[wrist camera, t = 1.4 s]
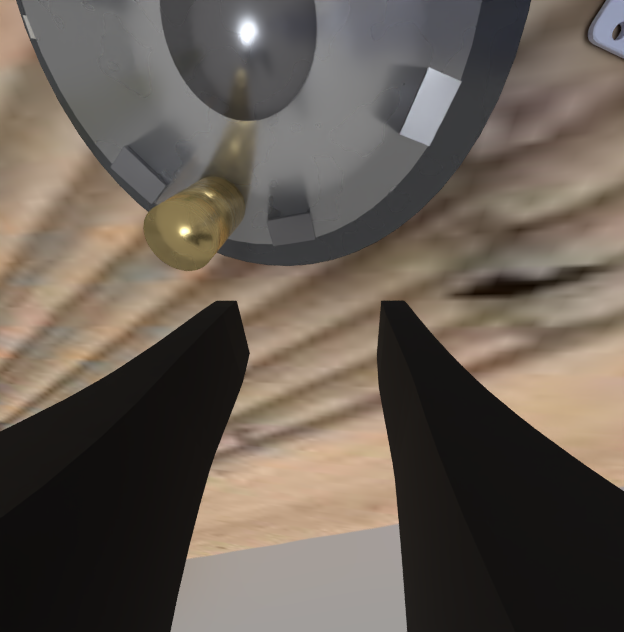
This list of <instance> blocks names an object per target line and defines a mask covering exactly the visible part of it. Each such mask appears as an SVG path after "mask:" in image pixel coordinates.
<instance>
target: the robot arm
mask: <svg viewBox="0 0 624 632" xmlns="http://www.w3.org/2000/svg"><path fill="white" fill-rule="evenodd" d="M618 24H620V25H621V32H620V34H619V36H618V37H617V38H616V39H615V40H614V39H613V38H612V32H613V30H614V28H615V27H616V26H617V25H618ZM588 39H589V41H590V42H591V43H592V44H594V45H596V46H598V47H600V48H602V49H604V50H607V51H609V52H611V53H613V54H615V55H617V56H619V57H621V58H623V59H624V0H606V1H605V3H604V4H603V6H602V8H601V9H600V11H599V12H598V14H597V15H596V17H595V18H594V20H593V21H592V23H591V25H590V27H589V31H588ZM249 354H250V352H249V348H248V344H247V340H246V336H245V332H244V328H243V324H242V320H241V316H240V312H239V308H238V304H237V301H216V302H214V303H212V304H211V305H209V306H208V307H206V308H205V309H203V310H202V311H201V312H199V313H198V314H196V315H195V316H194V317H192V318H191V319H189V320H188V321H187V322H185V323H184V324H183V325H181V326H180V327H178V328H177V329H176V330H174V331H173V332H171V333H170V334H169V335H167V336H166V337H165V338H163V339H162V340H160V341H159V342H158V343H156V344H155V345H153V346H152V347H150V348H149V349H147V350H146V351H144V352H143V353H141V354H140V355H138V356H137V357H135V358H134V359H132V360H131V361H129V362H128V363H126V364H125V365H123V366H122V367H120V368H118V369H117V370H115V371H114V372H112V373H110V374H109V375H107V376H105V377H104V378H102V379H100V380H99V381H97V382H95V383H93V384H92V385H90V386H88V387H86V388H84V389H83V390H81V391H79V392H77V393H76V394H74V395H72V396H70V397H68V398H66V399H65V400H63V401H61V402H59V403H57V404H55V405H53V406H51V407H49V408H47V409H45V410H43V411H41V412H39V413H37V414H35V415H33V416H31V417H29V418H27V419H25V420H23V421H21V422H19V423H17V424H15V425H13V426H11V427H9V428H7V429H5V430H2V431H0V632H170V631H171V626H172V621H173V616H174V611H175V606H176V602H177V596H178V592H179V588H180V584H181V580H182V575H183V571H184V567H185V562H186V558H187V554H188V549H189V545H190V541H191V537H192V534H193V530H194V526H195V522H196V518H197V514H198V510H199V506H200V503H201V499H202V496H203V492H204V489H205V485H206V481H207V478H208V474H209V471H210V468H211V465H212V462H213V459H214V456H215V453H216V450H217V448H218V445H219V443H220V440H221V438H222V435H223V432H224V430H225V427H226V425H227V422H228V420H229V417H230V414H231V412H232V409H233V407H234V404H235V402H236V399H237V396H238V394H239V391H240V388H241V386H242V383H243V379H244V375H245V371H246V367H247V363H248V358H249ZM377 367H378V382H379V391H380V396H381V402H382V408H383V413H384V419H385V424H386V429H387V435H388V440H389V446H390V451H391V457H392V462H393V469H394V476H395V485H396V496H397V507H398V518H399V529H400V541H401V554H402V566H403V580H404V593H405V606H406V620H407V632H624V491H623V490H621V489H620V488H618V487H617V486H615V485H614V484H612V483H611V482H609V481H608V480H606V479H605V478H603V477H602V476H600V475H599V474H597V473H596V472H595V471H593V470H592V469H590V468H589V467H587V466H586V465H584V464H583V463H581V462H580V461H579V460H577V459H576V458H574V457H573V456H572V455H570V454H569V453H568V452H566V451H565V450H563V449H562V448H561V447H559V446H558V445H557V444H555V443H554V442H553V441H551V440H550V439H548V438H547V437H546V436H544V435H543V434H542V433H540V432H539V431H538V430H536V429H535V428H534V427H532V426H531V425H530V424H528V423H527V422H526V421H525V420H523V419H522V418H521V417H519V416H518V415H517V414H516V413H515V412H513V411H512V410H511V409H510V408H509V407H507V406H506V405H505V404H504V403H503V402H501V401H500V400H499V399H498V398H497V397H495V396H494V395H493V394H492V393H491V392H489V391H488V390H487V389H486V388H485V387H484V386H483V385H482V384H480V383H479V382H478V381H477V380H476V379H475V378H474V377H473V376H472V375H471V374H470V373H469V372H468V371H467V370H466V369H465V368H464V367H463V366H462V365H461V364H460V363H459V362H458V361H457V360H456V359H455V358H454V357H453V356H452V355H451V354H450V353H449V352H448V351H447V350H446V349H445V348H444V346H443V345H442V344H441V343H440V342H439V341H438V340H437V339H436V338H435V337H434V336H433V334H432V333H431V332H430V331H429V330H428V329H427V327H426V326H425V325H424V324H423V323H422V321H421V320H420V319H419V318H418V317H417V315H416V314H415V313H414V312H413V310H412V309H411V308H410V307H409V305H408V304H407V303H406V302H405V301H381V311H380V323H379V335H378V347H377Z"/></svg>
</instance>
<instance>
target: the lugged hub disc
mask: <svg viewBox="0 0 624 632" xmlns="http://www.w3.org/2000/svg"><path fill="white" fill-rule="evenodd" d="M22 3H23V6H24V9H25V12H26V15H27V18H28V21H29V23H30V26H31V28H32V31H33V33H34V36H35V38H36V41H37V43H38V46H39V48H40V50H41V53H42V55H43V57H44V59H45V61H46V63H47V65H48V67H49V69H50V71H51V73H52V75H53V77H54V79H55V81H56V83H57V85H58V87H59V89H60V91H61V93H62V94H63V96H64V98H65V99H66V101H67V103H68V104H69V106H70V108H71V109H72V111H73V113H74V114H75V116H76V118H77V119H78V121H79V122H80V123H81V125H82V126H83V127H84V129H85V130H86V132H87V133H88V134H89V136H90V137H91V139H92V140H93V141H94V143H95V144H96V145H97V147H98V148H99V149H100V150H101V151H102V152H103V154H104V155H105V156H106V157H107V158H108V160H109V161H110V162H111V163H112V165H111V168H112V169H113V170H114V171H115V172H116V173H117V174H118V175H119V176H121V177H122V178H123V179H124V180H125V181H126V182H127V183H128V184H129V185H131V186H132V187H133V188H134V189H135V190H136V191H137V192H138V193H139V194H141V195H142V196H143V197H144V198H145V199H146V200H147V201H148V202H149V203H151V204H153V203H156V204H157V206H155V207H154V208H152V209H151V210H150V211H149V212H148V214H147V215H146V217H145V220H144V235H145V238H146V241H147V243H148V245H149V247H150V248H151V250H152V251H153V252H154V254H155V255H156V256H157V257H158V258H159V259H160V260H162V261H163V262H164V263H166V264H168V265H169V266H171V267H173V268H176V269H179V270H184V271H193V270H198V269H200V268H202V267H204V266H205V265H206V264H207V263H208V262H209V261H210V260H211V259H212V257H213V256H214V255H215V254H216V253H217V251H218V250H219V249H220V248H221V246H222V245H223V244H224V243H225V242H226V240H227V239H231V240H234V241H240V242H247V243H253V244H273V246H278V245H285V244H291V243H297V242H303V241H309V240H315V238H316V237H319V236H322V235H324V234H327V233H330V232H332V231H335V230H337V229H339V228H341V227H343V226H345V225H347V224H348V223H350V222H352V221H354V220H356V219H357V218H359V217H360V216H362V215H363V214H364V213H366V212H367V211H369V210H370V209H372V208H373V207H375V206H376V205H377V204H378V203H379V202H380V201H381V200H382V199H384V198H385V197H386V196H387V195H388V194H389V193H390V192H391V191H392V190H394V188H395V187H396V186H397V185H398V184H399V183H400V182H401V181H402V179H403V178H404V177H405V176H406V175H407V174H408V173H409V172H410V171H411V169H412V168H413V167H414V165H415V164H416V162H417V161H418V160H419V158H420V157H421V155H422V154H423V153H424V151H425V150H426V148H427V147H428V146H430V144H431V142H432V140H433V138H434V136H435V134H436V132H437V130H438V128H439V126H440V124H441V123H442V121H443V119H444V117H445V115H446V113H447V111H448V109H449V106H450V104H451V102H452V100H453V98H454V96H455V94H456V92H457V90H458V88H459V86H460V84H461V82H462V81H460V80H461V77H462V74H463V71H464V68H465V65H466V62H467V59H468V56H469V53H470V50H471V47H472V43H473V39H474V34H475V30H476V26H477V21H478V17H479V12H480V8H481V3H482V0H22Z"/></svg>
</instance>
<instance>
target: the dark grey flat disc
mask: <svg viewBox="0 0 624 632" xmlns="http://www.w3.org/2000/svg"><path fill="white" fill-rule="evenodd" d="M16 1H17V4H18V7H19V11H20V14H21V17H22V20H23V23H24V26H25V29H26V31H27V33H28V36H29V38H30V41H31V43H32V45H33V48H34V50H35V53H36V55H37V58H38V60H39V62H40V65H41V67H42V69H43V71H44V73H45V75H46V77H47V79H48V81H49V83H50V85H51V87H52V89H53V91H54V93H55V95H56V97H57V99H58V101H59V103H60V104H61V106H62V107H63V109H64V111H65V112H66V114H67V116H68V117H69V119H70V121H71V122H72V124H73V125H74V127H75V129H76V130H77V132H78V134H79V135H80V136H81V138H82V139H83V140H84V142H85V143H86V145H87V146H88V147H89V149H90V150H91V151H92V153H93V154H94V156H95V157H96V158H97V160H98V161H99V162H100V163H101V165H102V166H103V167H104V168H105V169H106V170H107V171H108V173H109V174H110V175H111V176H112V177H113V178H114V179H115V181H116V182H117V183H118V184H119V185H120V186H121V187H122V188H123V189H124V190H125V191H126V192H127V193H128V194H129V195H130V196H131V197H132V198H133V199H134V200H135V201H136V202H137V203H138V204H139V205H141V206H142V207H143V208H144V209H146V210H147V211H148V212H149V211H150V210H151V209H152V208H154V207H155V206H157V204H156V203H153V204H151V203H149V202H148V201H147V200H146V199H145V198H144V197H143V196H142V195H141V194H139V193H138V192H137V191H136V190H135V189H134V188H133V187H132V186H131V185H129V184H128V183H127V182H126V181H125V180H124V179H123V178H122V177H121V176H119V175H118V174H117V173H116V172H115V171H114V170H113V169H112V168H111V165H112V163H111V162H110V161H109V160H108V158H107V157H106V156H105V155H104V154H103V152H102V151H101V150H100V149H99V148H98V147H97V145H96V144H95V143H94V141H93V140H92V139H91V137H90V136H89V134H88V133H87V132H86V130H85V129H84V127H83V126H82V125H81V123H80V122H79V121H78V119H77V118H76V116H75V114H74V113H73V111H72V109H71V108H70V106H69V104H68V103H67V101H66V99H65V98H64V96H63V94H62V93H61V91H60V89H59V87H58V85H57V83H56V81H55V79H54V77H53V75H52V73H51V71H50V69H49V67H48V65H47V63H46V61H45V59H44V57H43V55H42V53H41V50H40V48H39V46H38V43H37V41H36V38H35V36H34V33H33V31H32V28H31V26H30V23H29V21H28V18H27V15H26V12H25V9H24V6H23V3H22V0H16ZM530 2H531V0H482V3H481V8H480V12H479V17H478V21H477V26H476V30H475V34H474V39H473V43H472V47H471V50H470V53H469V56H468V59H467V62H466V65H465V68H464V71H463V74H462V77H461V80H460V81H462V82H461V84H460V86H459V88H458V90H457V92H456V94H455V96H454V98H453V100H452V102H451V104H450V106H449V109H448V111H447V113H446V115H445V117H444V119H443V121H442V123H441V124H440V126H439V128H438V130H437V132H436V134H435V136H434V138H433V140H432V142H431V144H430V146H428V147H427V148H426V150H425V151H424V153H423V154H422V155H421V157H420V158H419V160H418V161H417V162H416V164H415V165H414V167H413V168H412V169H411V171H410V172H409V173H408V174H407V175H406V176H405V177H404V178H403V179H402V181H401V182H400V183H399V184H398V185H397V186H396V187H395V188H394V190H392V191H391V192H390V193H389V194H388V195H387V196H386V197H385V198H384V199H382V200H381V201H380V202H379V203H378V204H377V205H376V206H375V207H373V208H372V209H370V210H369V211H367V212H366V213H364V214H363V215H362V216H360V217H359V218H357V219H356V220H354V221H352V222H350V223H348V224H347V225H345V226H343V227H341V228H339V229H337V230H335V231H332V232H330V233H327V234H324V235H322V236H319V237H316V238H315V240H309V241H303V242H297V243H291V244H285V245H278V246H273V244H253V243H247V242H240V241H234V240H231V239H227V240H226V242H225V243H224V244H223V245H222V246H221V248H220V249H219V250H218V251H217V253H219V254H222V255H224V256H228V257H231V258H235V259H239V260H242V261H246V262H252V263H258V264H264V265H279V266H295V265H306V264H314V263H319V262H324V261H329V260H333V259H336V258H339V257H342V256H345V255H348V254H351V253H354V252H356V251H359V250H361V249H363V248H365V247H367V246H369V245H371V244H373V243H375V242H377V241H379V240H380V239H382V238H383V237H385V236H387V235H388V234H390V233H391V232H393V231H394V230H396V229H398V228H399V227H400V226H401V225H403V224H404V223H405V222H406V221H408V220H409V219H410V218H411V217H413V216H414V215H415V214H416V213H418V212H419V211H420V210H421V209H422V208H423V207H424V206H425V205H426V204H427V203H428V202H429V201H430V200H431V199H432V198H433V197H434V196H435V195H436V194H437V193H438V192H439V191H440V190H441V189H442V187H443V186H444V185H445V184H446V182H447V181H448V180H449V179H450V177H451V176H452V175H453V174H454V172H455V171H456V170H457V169H458V167H459V166H460V165H461V163H462V162H463V160H464V159H465V157H466V156H467V154H468V153H469V151H470V150H471V148H472V146H473V145H474V143H475V142H476V140H477V139H478V137H479V136H480V134H481V132H482V130H483V128H484V126H485V124H486V122H487V120H488V118H489V117H490V115H491V113H492V111H493V109H494V107H495V105H496V103H497V101H498V99H499V97H500V94H501V92H502V89H503V87H504V84H505V82H506V79H507V77H508V74H509V72H510V69H511V66H512V64H513V61H514V59H515V56H516V53H517V49H518V46H519V42H520V39H521V36H522V32H523V29H524V25H525V22H526V19H527V15H528V12H529V7H530Z"/></svg>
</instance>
